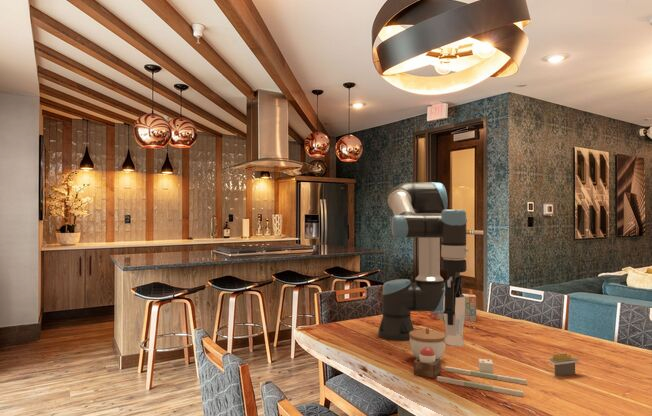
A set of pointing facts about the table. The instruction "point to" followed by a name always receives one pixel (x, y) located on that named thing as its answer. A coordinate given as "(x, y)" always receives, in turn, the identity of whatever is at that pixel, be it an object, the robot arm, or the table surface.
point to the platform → (564, 364)
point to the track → (483, 386)
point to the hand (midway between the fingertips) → (453, 331)
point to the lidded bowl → (427, 341)
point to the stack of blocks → (470, 309)
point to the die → (486, 366)
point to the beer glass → (460, 318)
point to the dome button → (427, 355)
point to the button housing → (427, 368)
